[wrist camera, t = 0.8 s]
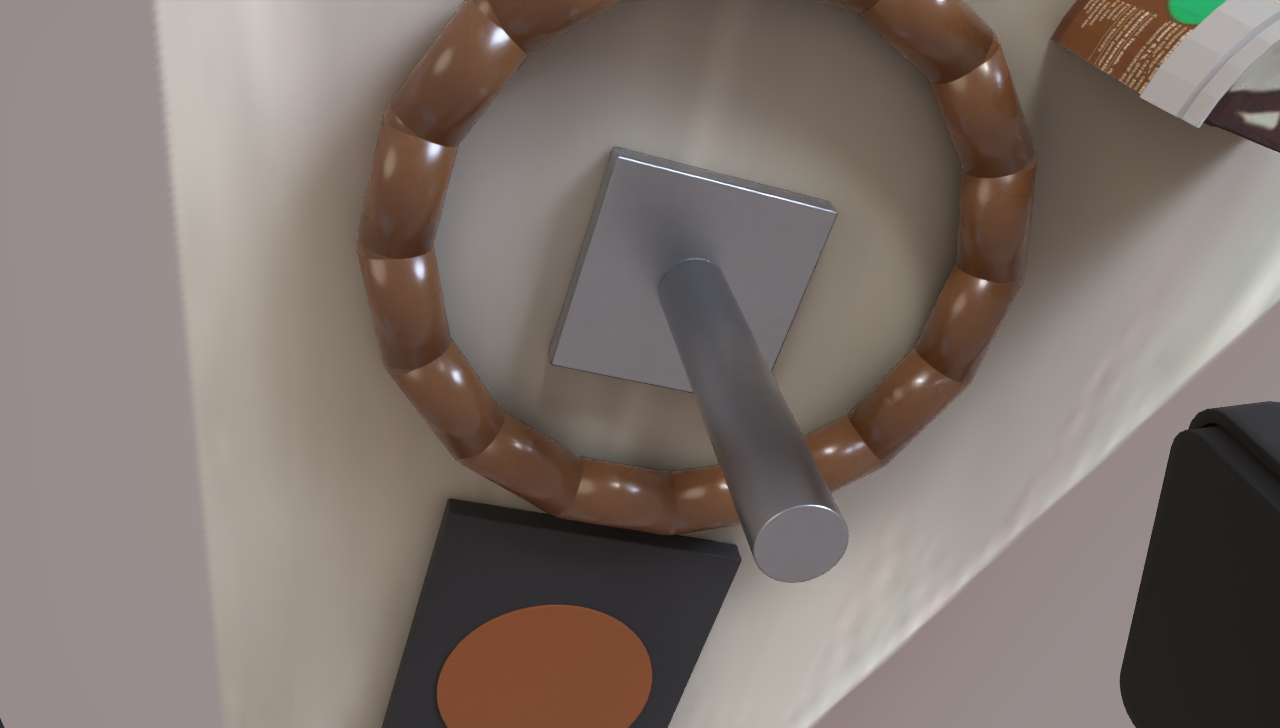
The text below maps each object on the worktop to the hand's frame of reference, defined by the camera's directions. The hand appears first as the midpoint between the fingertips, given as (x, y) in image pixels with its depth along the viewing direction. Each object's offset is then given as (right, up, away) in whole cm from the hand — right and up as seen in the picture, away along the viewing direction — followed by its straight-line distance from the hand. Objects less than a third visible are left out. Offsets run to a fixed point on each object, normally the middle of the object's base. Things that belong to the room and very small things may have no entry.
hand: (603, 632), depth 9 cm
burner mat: (-4, -11, +40) cm, 42 cm away
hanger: (+2, +5, +32) cm, 32 cm away
